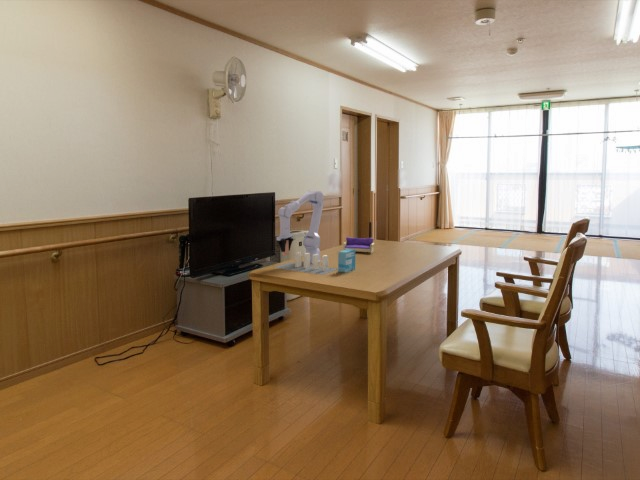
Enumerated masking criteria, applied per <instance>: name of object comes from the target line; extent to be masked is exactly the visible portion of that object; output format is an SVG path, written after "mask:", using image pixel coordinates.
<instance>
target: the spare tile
mask: <svg viewBox="0 0 640 480" xmlns="http://www.w3.org/2000/svg"><path fill="white" fill-rule="evenodd" d="M286 241H287V242H286V246H285V252H281V253H282V255H281V256H284V257H285V256H288V255H290V251H289V240H286Z"/></svg>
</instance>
